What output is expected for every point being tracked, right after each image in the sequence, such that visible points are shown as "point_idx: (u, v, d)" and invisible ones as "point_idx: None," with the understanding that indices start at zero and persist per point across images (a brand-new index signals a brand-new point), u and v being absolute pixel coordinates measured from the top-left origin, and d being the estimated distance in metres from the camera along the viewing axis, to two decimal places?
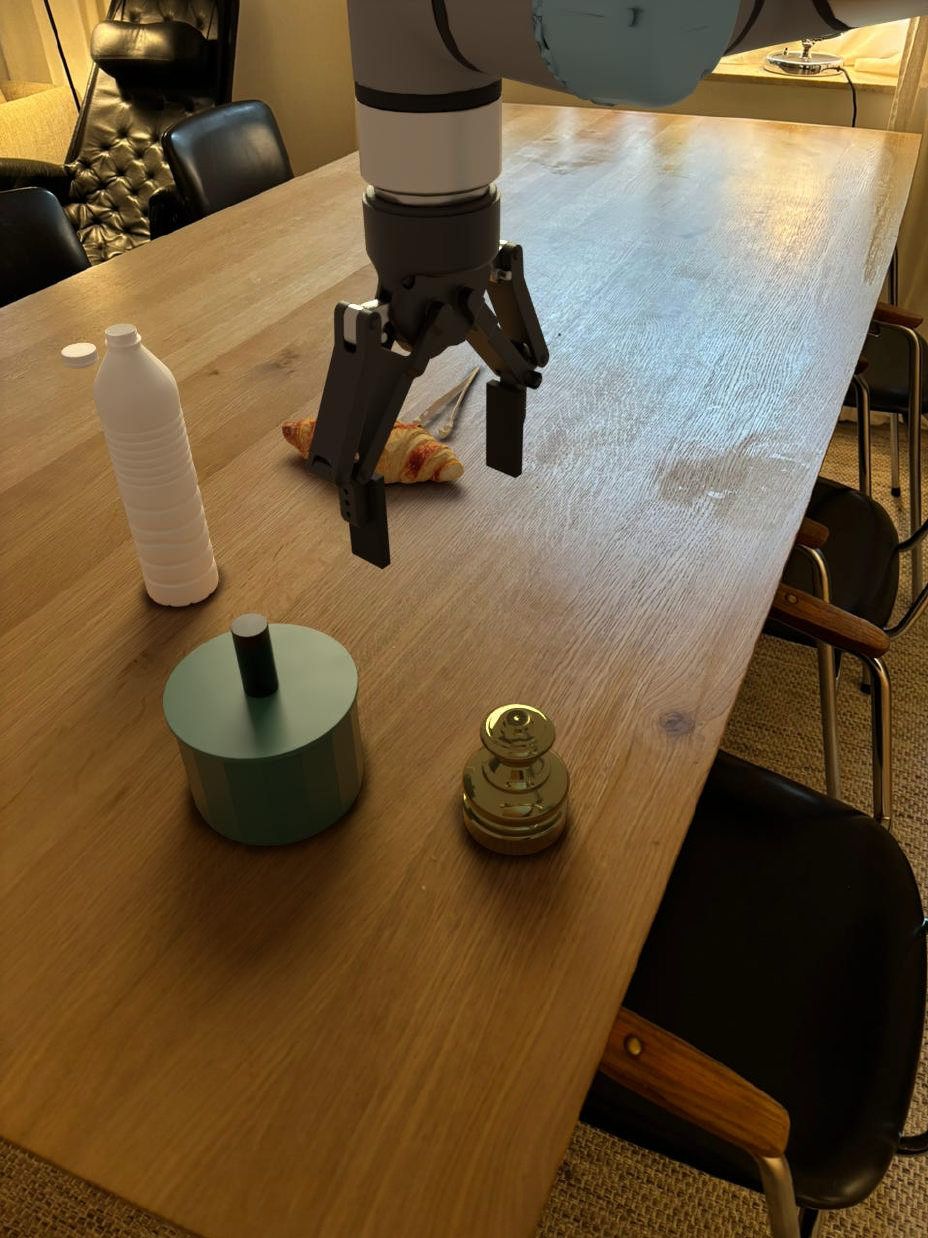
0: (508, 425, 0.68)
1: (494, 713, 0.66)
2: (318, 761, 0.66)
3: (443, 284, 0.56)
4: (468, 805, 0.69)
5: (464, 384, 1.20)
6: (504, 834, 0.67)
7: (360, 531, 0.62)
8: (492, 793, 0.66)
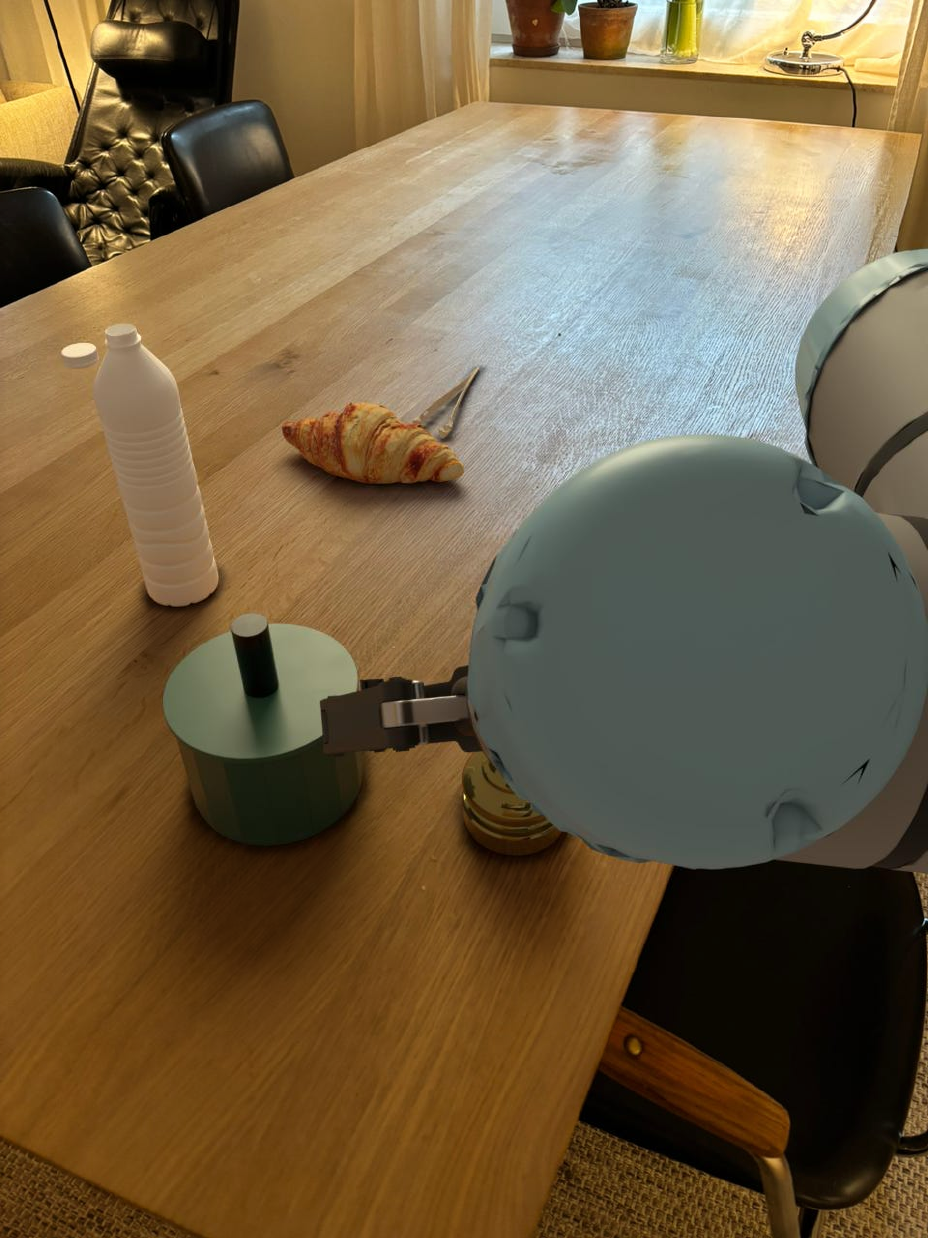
0: None
1: None
2: (318, 761, 0.66)
3: None
4: (468, 805, 0.69)
5: (464, 384, 1.20)
6: (504, 834, 0.67)
7: None
8: (492, 793, 0.66)
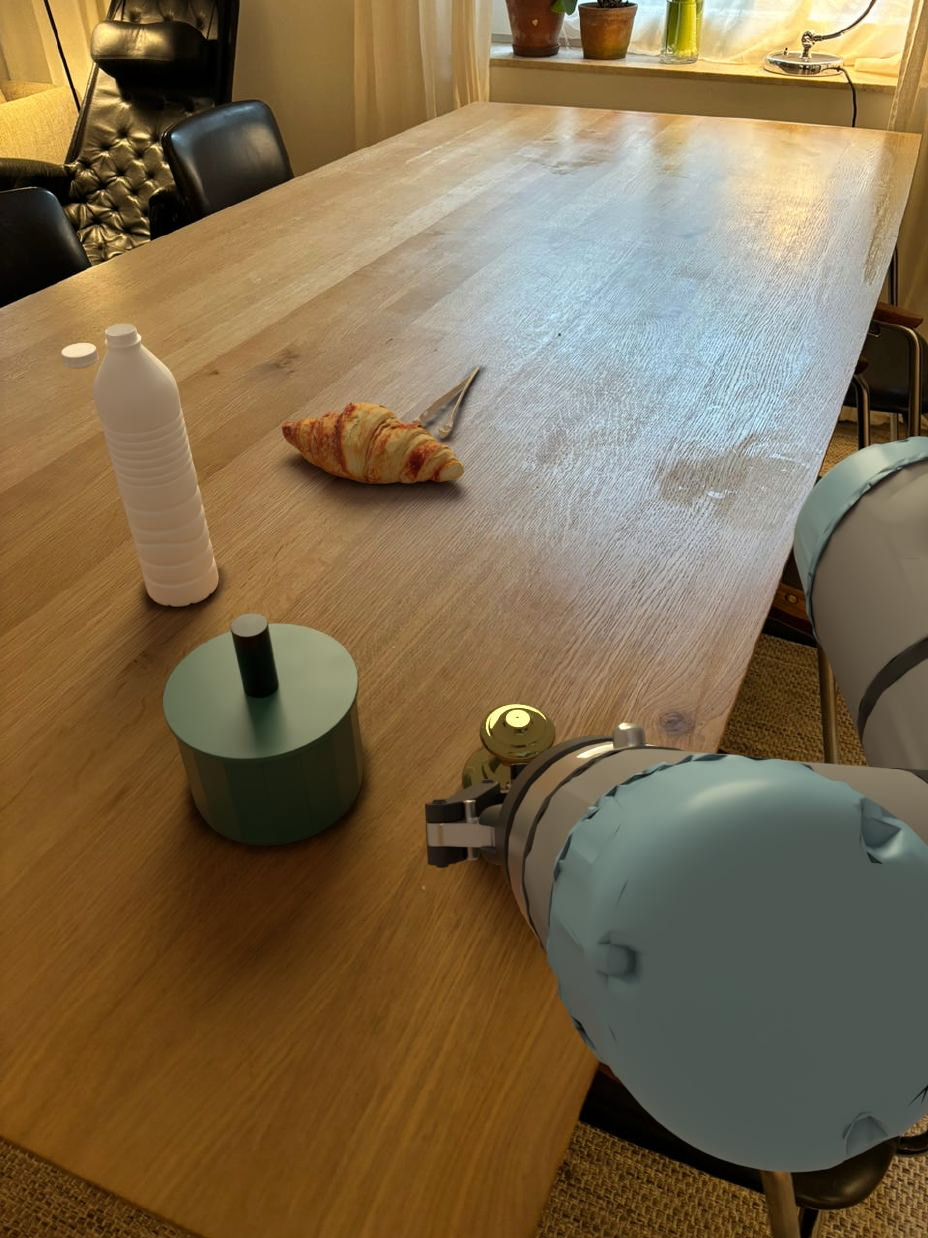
0: None
1: (494, 713, 0.65)
2: (318, 761, 0.66)
3: None
4: None
5: (464, 384, 1.20)
6: None
7: None
8: None
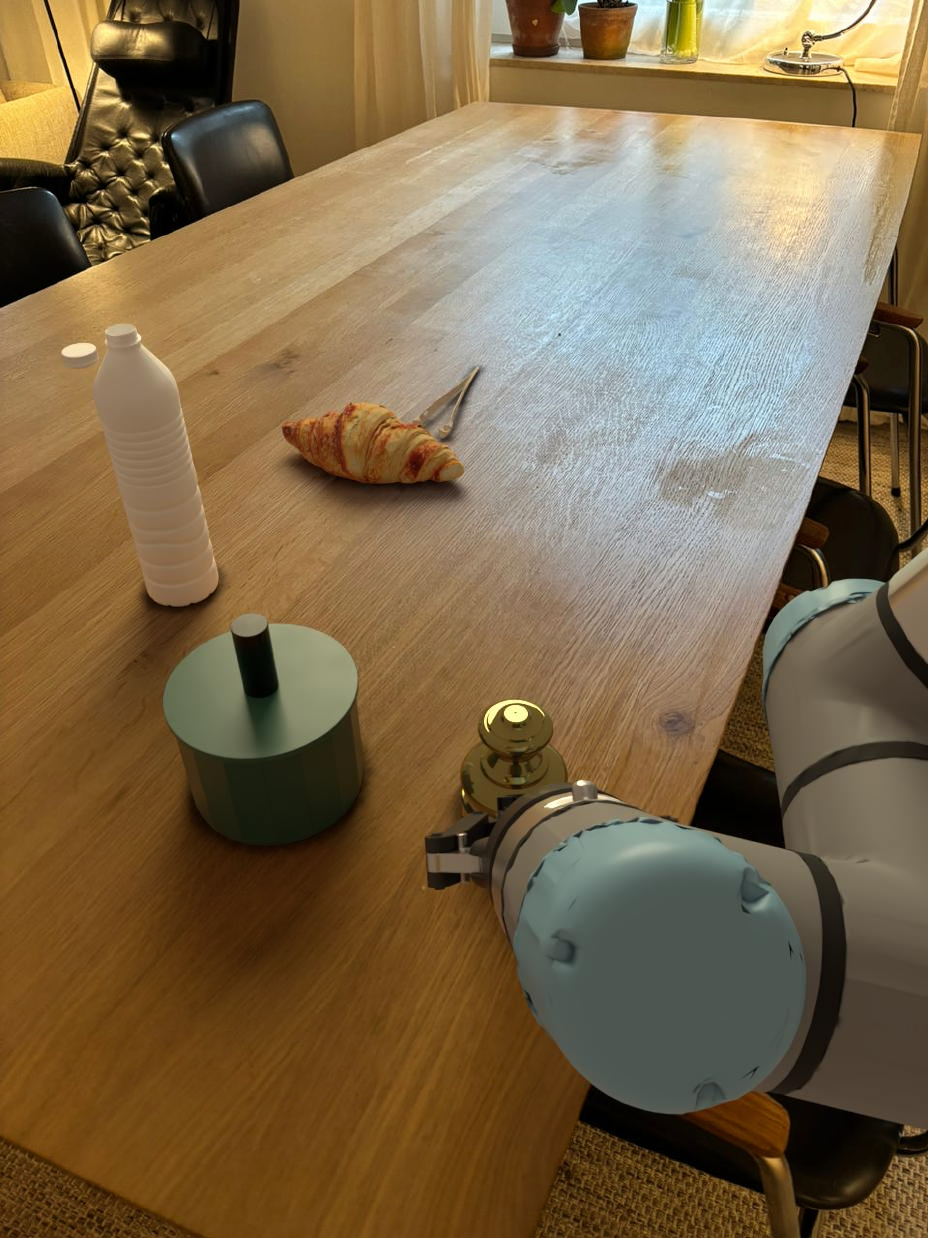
0: None
1: (493, 708, 0.66)
2: (318, 761, 0.66)
3: None
4: (466, 800, 0.69)
5: (464, 384, 1.20)
6: None
7: None
8: (490, 788, 0.66)
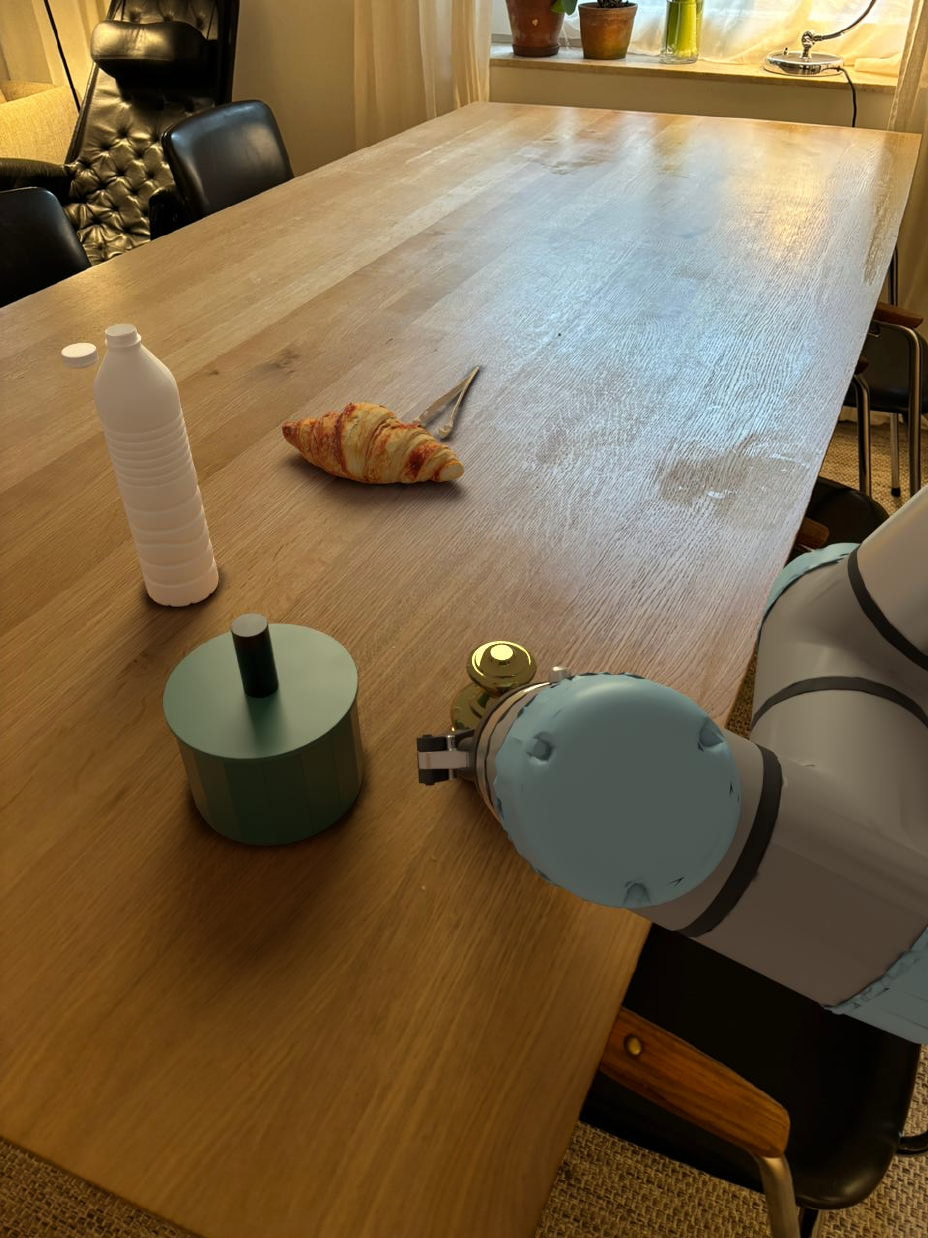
0: None
1: (481, 648, 0.70)
2: (318, 761, 0.66)
3: None
4: None
5: (464, 384, 1.20)
6: None
7: None
8: (477, 723, 0.71)
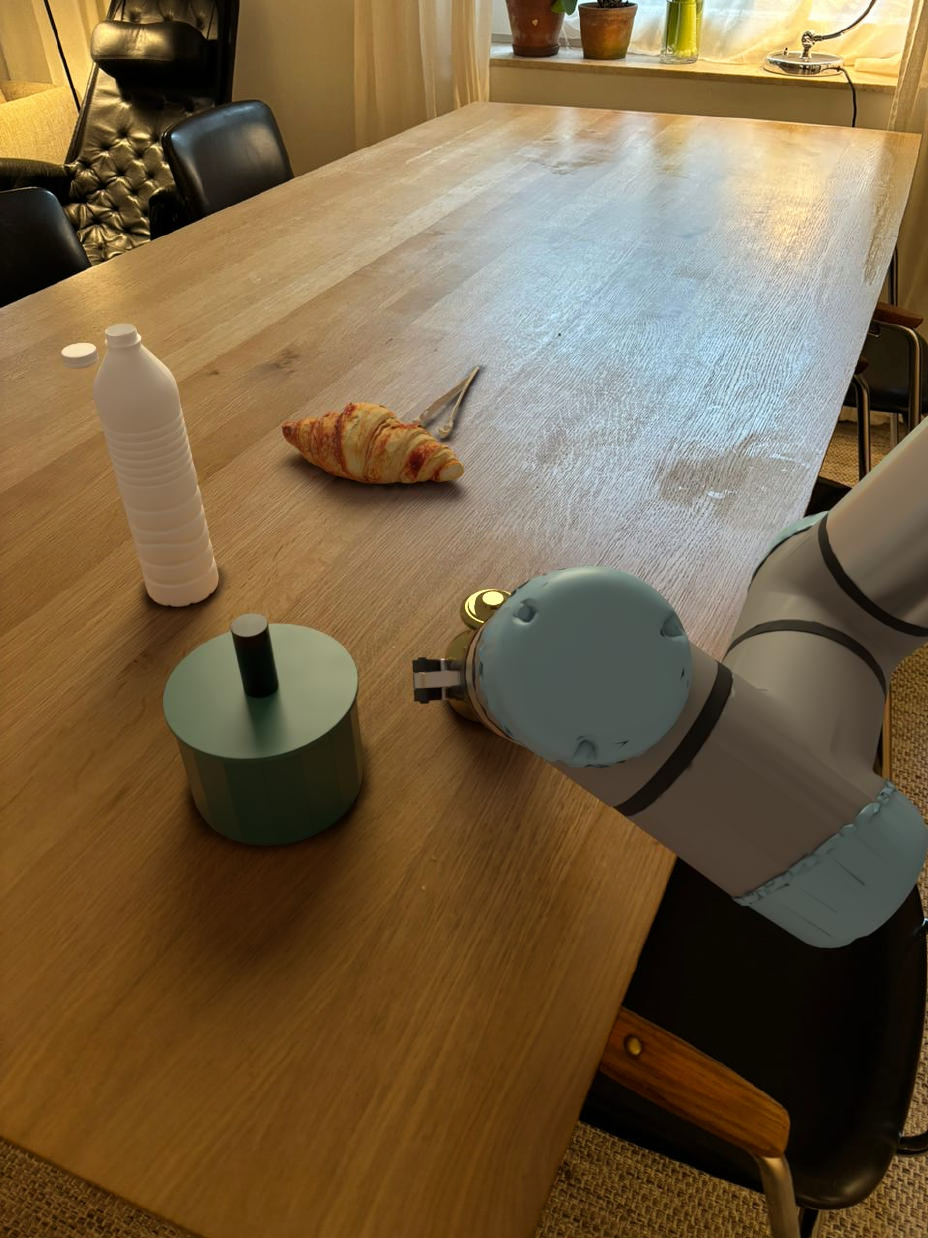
0: None
1: (474, 595, 0.75)
2: (318, 761, 0.66)
3: None
4: None
5: (464, 384, 1.20)
6: None
7: None
8: None
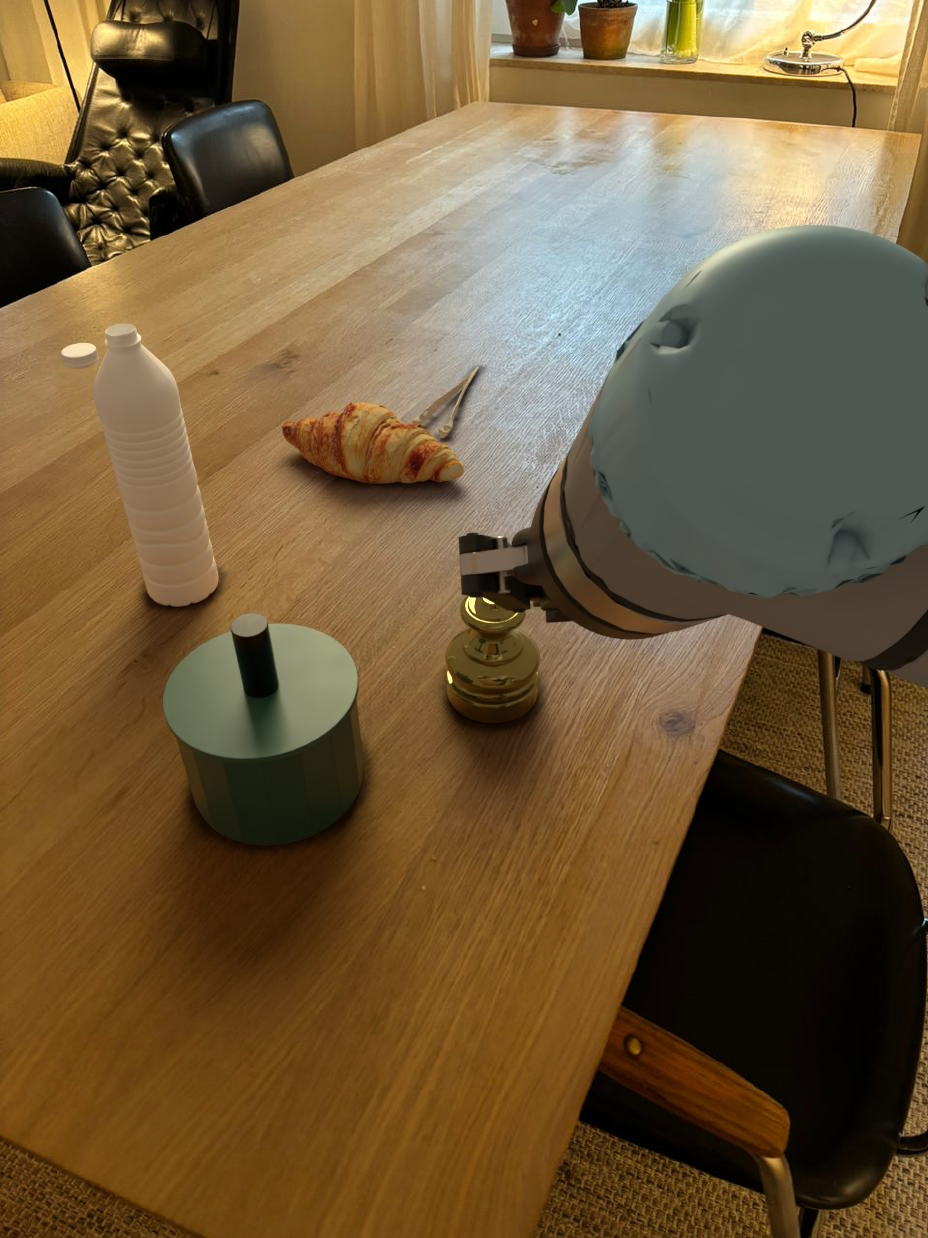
0: None
1: None
2: (318, 761, 0.66)
3: None
4: (450, 678, 0.78)
5: (463, 384, 1.20)
6: (479, 702, 0.76)
7: None
8: (469, 664, 0.76)
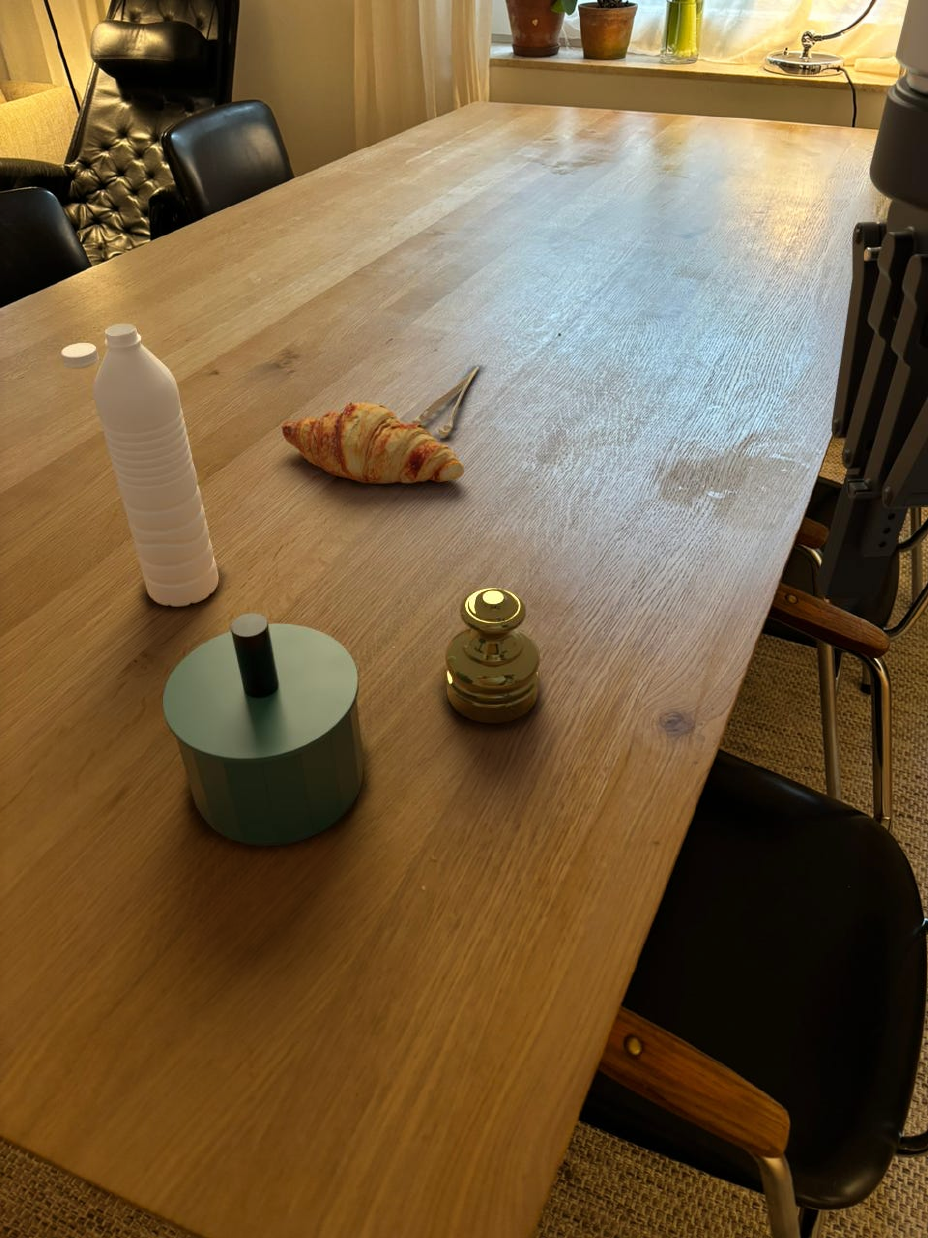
0: None
1: (474, 594, 0.75)
2: (318, 761, 0.66)
3: (925, 222, 0.40)
4: (450, 678, 0.78)
5: (463, 384, 1.20)
6: (479, 702, 0.76)
7: None
8: (469, 664, 0.76)
